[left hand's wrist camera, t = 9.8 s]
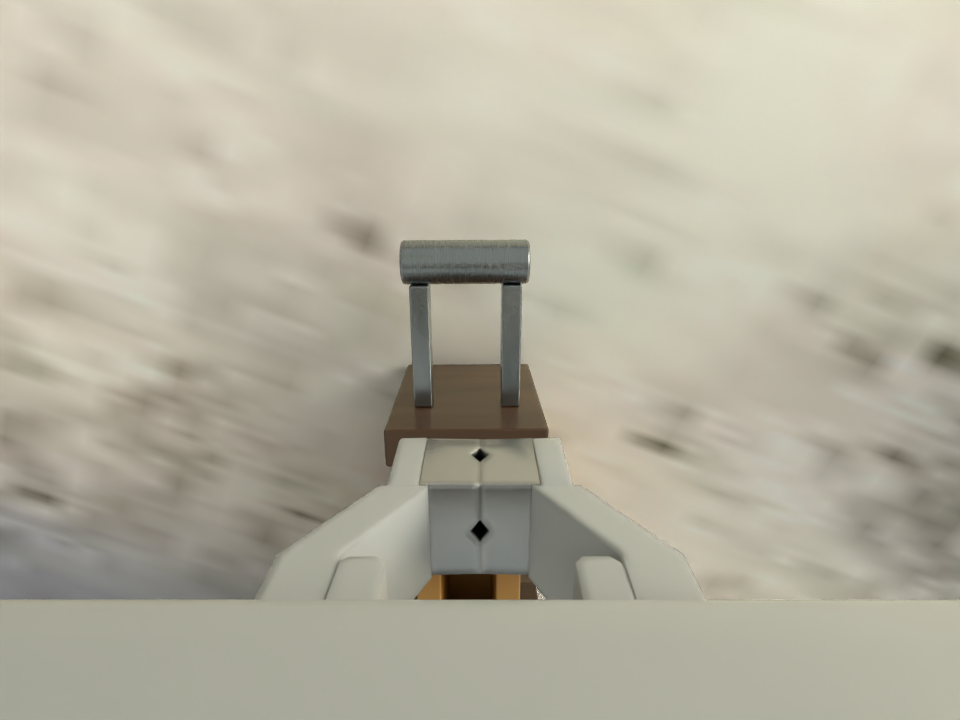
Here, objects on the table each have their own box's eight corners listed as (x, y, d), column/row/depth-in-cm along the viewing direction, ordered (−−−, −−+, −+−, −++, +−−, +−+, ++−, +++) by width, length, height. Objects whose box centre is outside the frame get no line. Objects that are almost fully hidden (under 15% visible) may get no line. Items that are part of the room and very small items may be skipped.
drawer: (401, 230, 20) (371, 247, 14) (531, 229, 20) (555, 246, 14) (424, 709, 27) (410, 855, 21) (519, 708, 27) (533, 853, 21)
